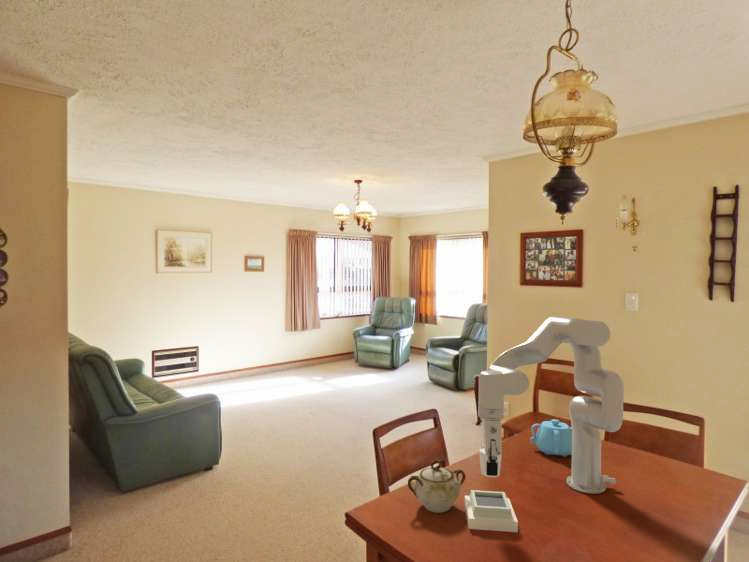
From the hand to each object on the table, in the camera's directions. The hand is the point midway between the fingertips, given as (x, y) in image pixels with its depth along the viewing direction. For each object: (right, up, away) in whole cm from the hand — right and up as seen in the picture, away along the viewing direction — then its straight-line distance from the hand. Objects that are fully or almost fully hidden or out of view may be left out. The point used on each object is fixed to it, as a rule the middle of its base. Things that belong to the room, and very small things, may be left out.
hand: (490, 469), depth 137 cm
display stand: (0, -15, 0) cm, 15 cm away
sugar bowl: (-15, -15, +7) cm, 23 cm away
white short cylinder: (0, -1, 0) cm, 1 cm away
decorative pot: (+41, -15, +53) cm, 69 cm away
